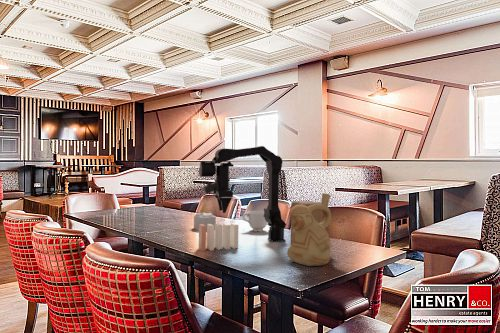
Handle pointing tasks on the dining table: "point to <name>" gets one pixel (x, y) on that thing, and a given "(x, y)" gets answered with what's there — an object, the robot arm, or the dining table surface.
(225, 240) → the beige jagged slab
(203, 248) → the domino
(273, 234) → the robot arm
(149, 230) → the dining table surface
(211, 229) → the domino
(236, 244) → the domino
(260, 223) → the teacup
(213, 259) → the dining table surface
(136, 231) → the dining table surface
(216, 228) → the domino
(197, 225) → the lumpy-topped squat cylinder
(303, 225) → the ceramic vessel
